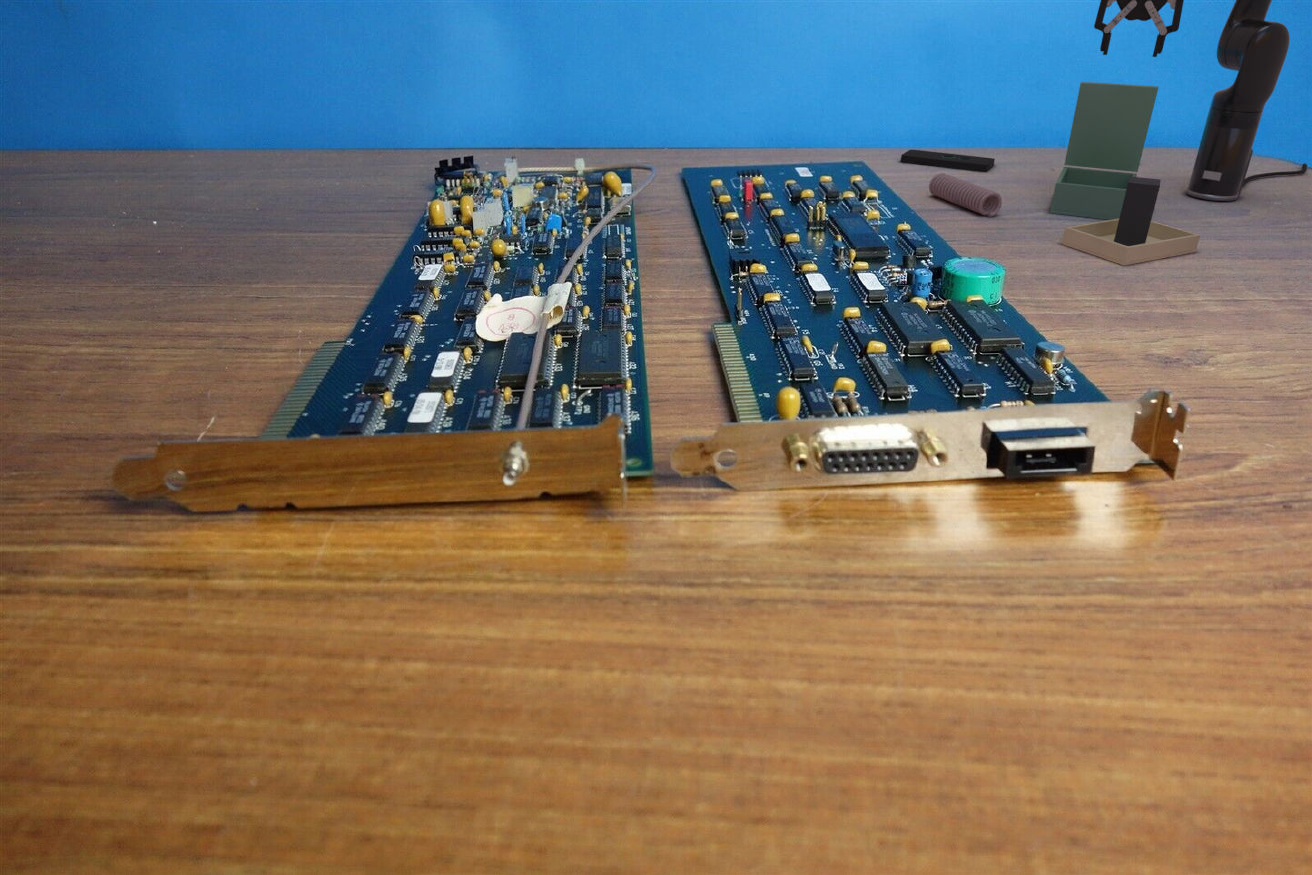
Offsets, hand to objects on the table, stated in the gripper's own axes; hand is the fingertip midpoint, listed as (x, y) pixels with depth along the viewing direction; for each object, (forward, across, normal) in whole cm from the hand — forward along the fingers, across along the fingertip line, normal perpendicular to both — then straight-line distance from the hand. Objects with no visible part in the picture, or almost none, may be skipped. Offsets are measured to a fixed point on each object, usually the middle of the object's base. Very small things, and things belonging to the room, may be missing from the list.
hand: (1129, 55), depth 176 cm
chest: (+27, +1, +6) cm, 28 cm away
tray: (+27, -7, +32) cm, 43 cm away
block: (+27, -7, +32) cm, 42 cm away
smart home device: (+28, +34, -21) cm, 49 cm away
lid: (+13, +1, 0) cm, 13 cm away
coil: (+28, +24, +16) cm, 40 cm away
